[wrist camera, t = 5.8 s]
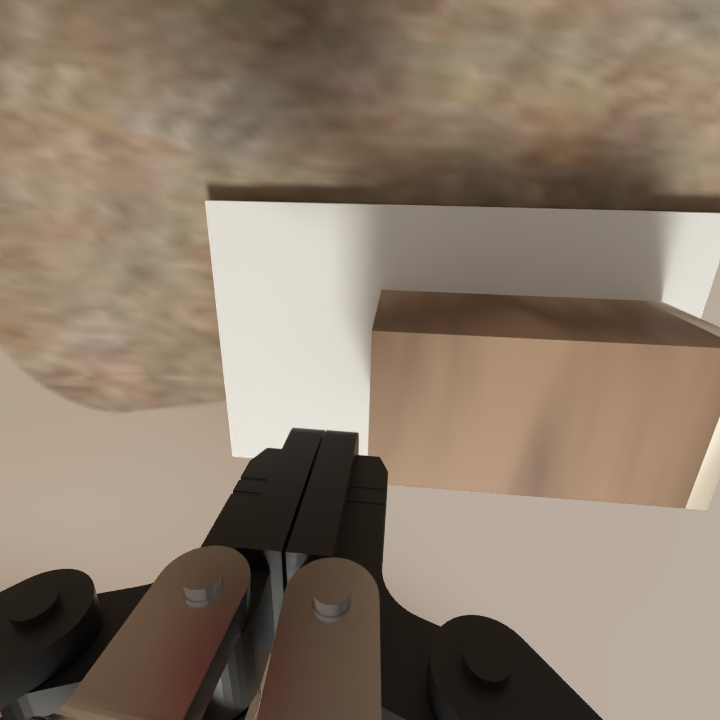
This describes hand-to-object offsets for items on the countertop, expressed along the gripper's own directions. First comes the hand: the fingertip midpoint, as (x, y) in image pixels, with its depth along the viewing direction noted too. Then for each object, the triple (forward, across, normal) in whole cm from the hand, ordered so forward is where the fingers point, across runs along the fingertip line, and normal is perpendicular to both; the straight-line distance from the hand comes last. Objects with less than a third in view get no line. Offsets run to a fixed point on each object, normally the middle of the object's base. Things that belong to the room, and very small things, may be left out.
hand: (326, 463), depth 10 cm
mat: (+8, -3, 0) cm, 9 cm away
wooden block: (+5, -1, 0) cm, 5 cm away
